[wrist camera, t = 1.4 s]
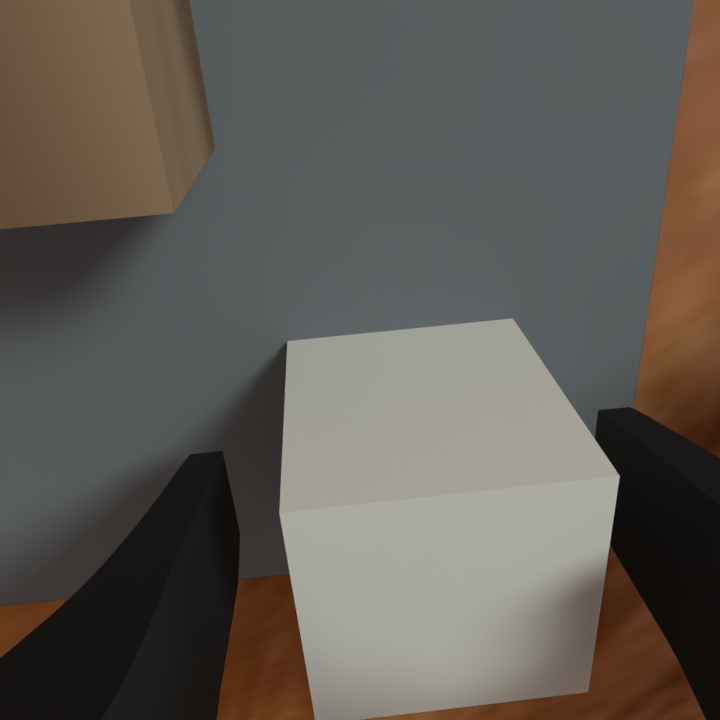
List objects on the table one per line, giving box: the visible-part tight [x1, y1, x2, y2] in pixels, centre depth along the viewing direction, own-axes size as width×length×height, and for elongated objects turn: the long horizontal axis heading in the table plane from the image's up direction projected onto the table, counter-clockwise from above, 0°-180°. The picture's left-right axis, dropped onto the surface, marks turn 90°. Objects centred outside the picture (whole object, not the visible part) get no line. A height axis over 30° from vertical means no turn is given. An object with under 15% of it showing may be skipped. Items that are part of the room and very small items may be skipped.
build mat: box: [0, 0, 694, 606], centre depth 11 cm, size 15×22×1 cm
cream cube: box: [279, 318, 620, 720], centre depth 12 cm, size 4×4×5 cm
